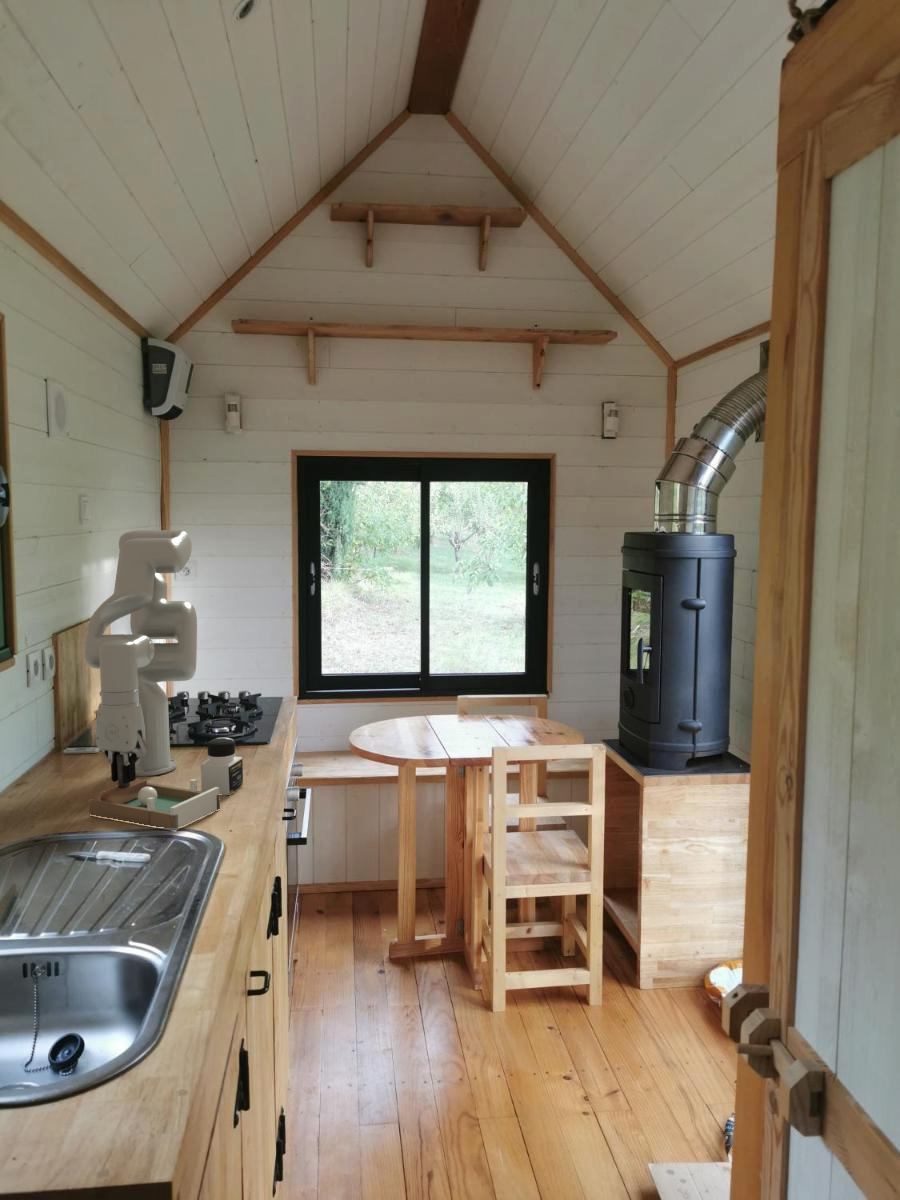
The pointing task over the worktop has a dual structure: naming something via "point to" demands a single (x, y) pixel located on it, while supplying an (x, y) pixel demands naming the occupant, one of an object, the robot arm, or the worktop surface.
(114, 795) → the striker
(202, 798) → the pitch
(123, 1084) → the worktop surface
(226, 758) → the medicine bottle
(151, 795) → the ball
